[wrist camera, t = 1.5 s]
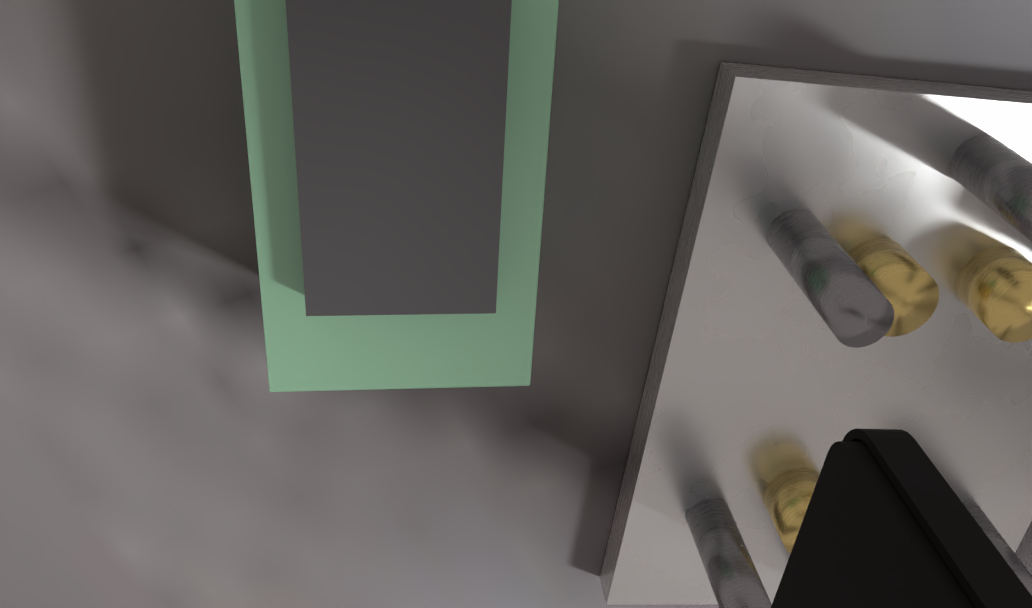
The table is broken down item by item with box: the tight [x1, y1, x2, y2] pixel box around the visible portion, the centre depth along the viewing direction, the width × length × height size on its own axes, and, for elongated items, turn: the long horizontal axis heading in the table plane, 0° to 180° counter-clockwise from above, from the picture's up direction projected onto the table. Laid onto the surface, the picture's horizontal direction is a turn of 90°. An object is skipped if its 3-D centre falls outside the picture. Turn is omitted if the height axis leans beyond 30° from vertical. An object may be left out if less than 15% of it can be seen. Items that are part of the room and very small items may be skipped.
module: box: [234, 0, 559, 392], centre depth 21 cm, size 12×6×6 cm, turn 177°
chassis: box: [600, 62, 1032, 608], centre depth 28 cm, size 18×14×6 cm
